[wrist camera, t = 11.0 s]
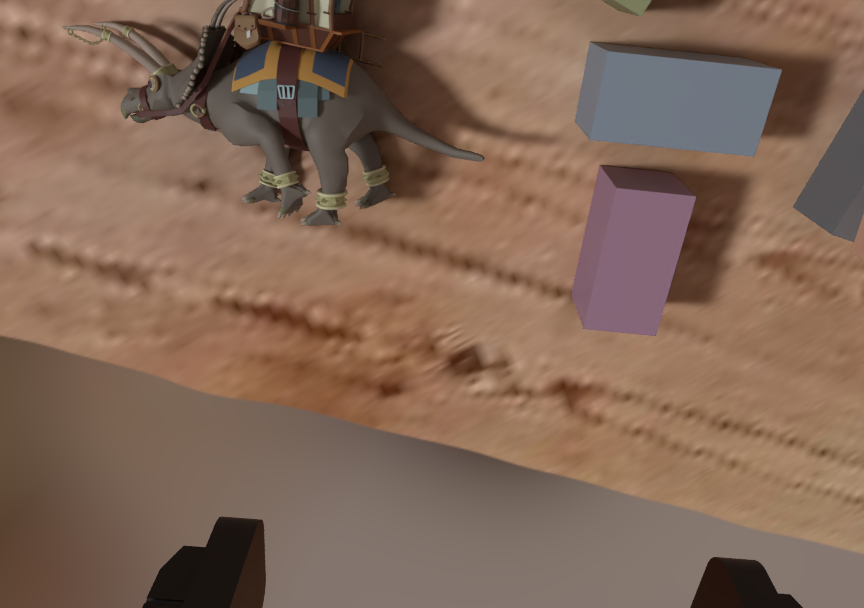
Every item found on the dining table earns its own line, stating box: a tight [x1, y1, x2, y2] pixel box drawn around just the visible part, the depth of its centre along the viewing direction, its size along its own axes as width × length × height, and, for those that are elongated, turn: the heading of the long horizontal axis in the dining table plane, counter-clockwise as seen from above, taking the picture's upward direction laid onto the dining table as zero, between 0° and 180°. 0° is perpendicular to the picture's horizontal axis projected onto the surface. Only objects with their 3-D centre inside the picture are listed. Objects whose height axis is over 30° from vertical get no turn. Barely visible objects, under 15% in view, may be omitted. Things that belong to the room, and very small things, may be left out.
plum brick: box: [571, 165, 696, 336], centre depth 37 cm, size 8×4×4 cm, turn 174°
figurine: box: [63, 0, 484, 226], centre depth 32 cm, size 20×6×17 cm
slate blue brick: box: [575, 42, 782, 157], centre depth 33 cm, size 8×4×4 cm, turn 84°
